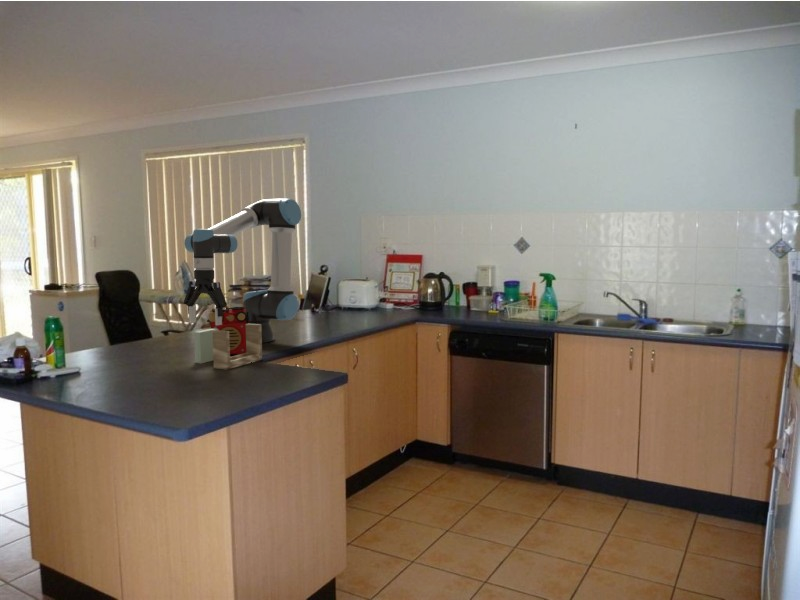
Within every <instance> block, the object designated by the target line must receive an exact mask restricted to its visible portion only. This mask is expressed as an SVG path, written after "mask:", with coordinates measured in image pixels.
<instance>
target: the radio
mask: <svg viewBox="0 0 800 600" xmlns="http://www.w3.org/2000/svg"><path fill="white" fill-rule="evenodd" d="M215 308H216V306H215V307H214V308H211V310H210V311H209V313H208V319H209V322H210V329H212V328H215V329H219V330H223V331H229V343H230V355H239V354H243V353H246V323H247V324H248V323H249V315H248V311H247V314H246V309H245V307H243V306H233V307H229V306H228V305H227V306H225V307H223V316H222V325H215Z"/></svg>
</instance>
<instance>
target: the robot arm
mask: <svg viewBox="0 0 800 600" xmlns="http://www.w3.org/2000/svg"><path fill="white" fill-rule="evenodd" d="M301 220H302V210H301V207H300V205H299V204H298V202H297V201H296V200H294V199H292V198H285V197H283V198H265V199H261V200H259V201H255V202H253V203H251V204H249V205H248V206H246V207H245V206H244V207H243V208H242V209H241V210H240V212H238V213H237V214H234V215H232V216H231V217H228V218H226V219H225V220H223V221H221V222H219V223H217V224H215V225H213V226H211V227H210V228H195V229H194V230H193V231H192V232H193V233H191V234H188V235H187V236H185V239H184V242H183V243H184V248H185V249H186V251H187V252H190V253H193V269H194V270H193V279H194V280H191V281H189V282H188V289H187V291H186V294H185V296H184V300H183V305H186V306H187V313H188V320H189V322H188V323H189V324H193V323H197V316H196V313H197V312H196V305H195V303H196V302H197V300H198V299H199V297H200V295H201V294H207V295H208V296H209V298H210V299H211V301H212V302H213V304H214V305H215V307H216V308H215V307H214V309H215V325H222V316H223V309H224V308H223V307H225V306H228V304H227V301H226V299H225V295H224V293H223V291H222V289H221V282H219V281H215V282H214V279H215V270H214V268H215V254H232V253H234V252H235V251H236V250H237V249H238V239H237V237H236V235H238V234H240V233H242V232H244V231H246V230H248V229H253V228H254V229H255V228H256V227H258V226H268V229H269V230H270V231H271V234H272V235H271V265H270V266H271V267H270V268H271V269H270V271H271V273H270V287H268V289H262V290H254V291H247V292H245V293H244V294H243V300H242V304H243V305H242V307H245V309H246V314H247V311H248V315H249V323H250V324H261V332H262V344H263V343H269V342H272V341H275V334H274V331H273V327H272V325H271V320H278V321H290V320H292V319H293V318H294V317H295V316H296V314H297V313H298V310H299V305H300V303H299V299H298V297H297V295H295V294H294V289H293V288H292V287H291V273H292V272H291V271H292V270H291V269H292V241H293V240H292V239H293V238H292V237H293V232H294V231H296V226H297V225H298V224H299V223H300V222H301ZM246 324H247V323H246Z"/></svg>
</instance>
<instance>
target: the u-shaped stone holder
mask: <svg viewBox="0 0 800 600" xmlns="http://www.w3.org/2000/svg"><path fill="white" fill-rule="evenodd" d="M212 332H213V360H212V361H213V369H218V370H227V371H228V370H230V369H234V368H237V367H241V366H243V365H248V364H251V362H252V363H255V362H259V361H261V360H263V343H262V332H261V324H250V323H248V324H246V353H243V354H234V355H233V356H231V354H230V343H229V331H223V330H213V331H212Z"/></svg>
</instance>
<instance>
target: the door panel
mask: <svg viewBox="0 0 800 600" xmlns="http://www.w3.org/2000/svg"><path fill="white" fill-rule="evenodd" d="M213 330H219V329H215V328H212V329H211V328H207V329H202V330H197V331H193V343H194V363H195V364H203V363H207V362H208V363H209V362H212V361H214V360H213V332H212V331H213Z"/></svg>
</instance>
